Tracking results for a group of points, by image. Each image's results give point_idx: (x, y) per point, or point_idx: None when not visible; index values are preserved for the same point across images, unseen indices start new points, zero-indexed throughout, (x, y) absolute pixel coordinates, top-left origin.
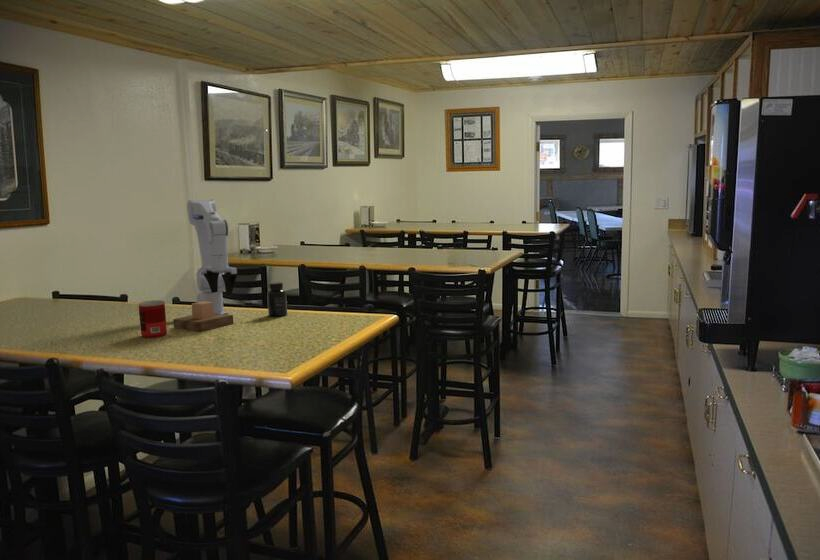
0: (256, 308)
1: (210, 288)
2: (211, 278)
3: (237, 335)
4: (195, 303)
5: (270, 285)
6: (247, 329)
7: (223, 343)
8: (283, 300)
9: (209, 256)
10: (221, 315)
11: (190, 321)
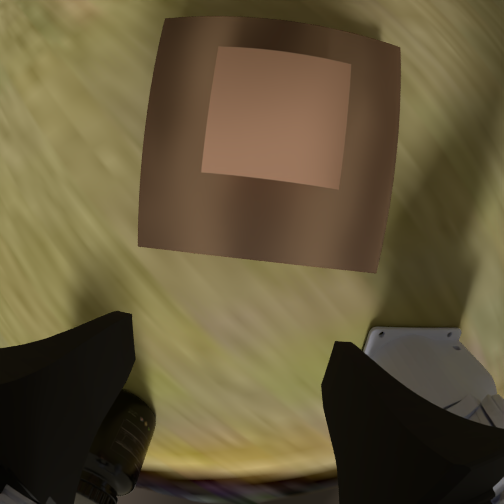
0: (293, 470)
1: (368, 358)
2: (387, 461)
3: (19, 78)
4: (319, 73)
5: (81, 488)
6: (33, 163)
7: (20, 5)
8: None
9: None
10: (194, 213)
11: (254, 18)
